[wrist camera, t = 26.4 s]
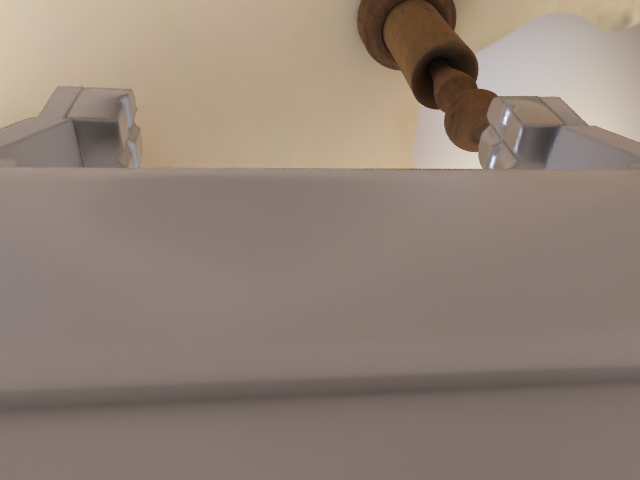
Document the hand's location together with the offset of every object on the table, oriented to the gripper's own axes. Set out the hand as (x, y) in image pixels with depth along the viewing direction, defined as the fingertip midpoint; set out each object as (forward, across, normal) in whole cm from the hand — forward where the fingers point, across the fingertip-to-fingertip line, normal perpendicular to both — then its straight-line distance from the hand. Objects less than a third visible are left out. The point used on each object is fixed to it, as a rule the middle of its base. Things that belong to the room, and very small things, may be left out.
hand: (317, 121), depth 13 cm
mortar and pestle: (+29, -9, +6) cm, 31 cm away
